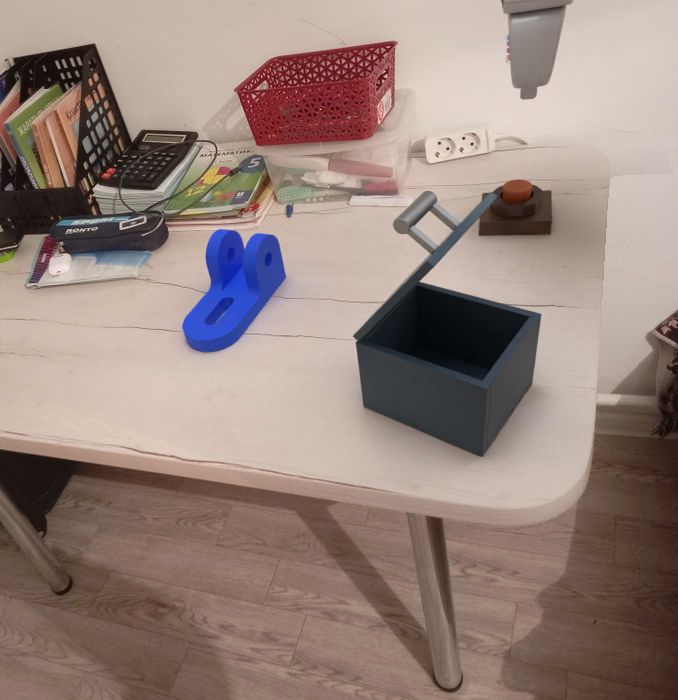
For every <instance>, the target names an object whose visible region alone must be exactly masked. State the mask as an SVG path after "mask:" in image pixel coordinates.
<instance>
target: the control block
mask: <svg viewBox="0 0 678 700" xmlns="http://www.w3.org/2000/svg"><path fill="white" fill-rule="evenodd" d="M492 192H493V193H494V194H495V195H496V196H497V199H496V200H495V201H494V202H493V203H492V204H491V205H490V206H489V207H488V209H487V210H486V211H485V212H484V213H483V214H482V215H481V216H480V217H479V219H478V220H479V221H478V236H528V235H529V236H530V235H531V236H533V235H537V236H538V235H541V236H542V235H551V234H552V226H553V197H552V196H553V194H552V190H551V189H550V190H549V189H545V190H543V189H541V187H539V186H538V185H535V184H532V191H531V198H530V199H529V200H527V201H524V202H514V203H512V202H508V201H504V200H503V199H502V193H503V185H500V186H498V187H497V188H495V189H494V190H493V191H492ZM489 193H490V192H482V194H481V201H482V200H483V199H484V198H485V197H486V196H487V195H488V194H489Z"/></svg>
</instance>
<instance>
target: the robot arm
mask: <svg viewBox="0 0 678 700" xmlns="http://www.w3.org/2000/svg"><path fill="white" fill-rule="evenodd" d="M500 2H501V8H502V13H503V15H506V16H507V26H508V40H509V42H508V43H509V64H510V77H511V84H512V87H513V88H514V89H519V90H520V92H519V93H520V94H519V95H520V96H519V98H520V99H521V100H523V101H524V100H533V99H535V98H536V97H537V94H538V87H540V88H541V87H545V86H547V85H548V84H549V83H550V80H551V77H552V75H553V71H554V67H555V63H556V58H557V54H558V49H559V45H560V41H561V40H560V39H561V36H562V31H563V26H564V22H565V16H566V11H567V6H570V5H572V4H573V2H574V0H500Z"/></svg>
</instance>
